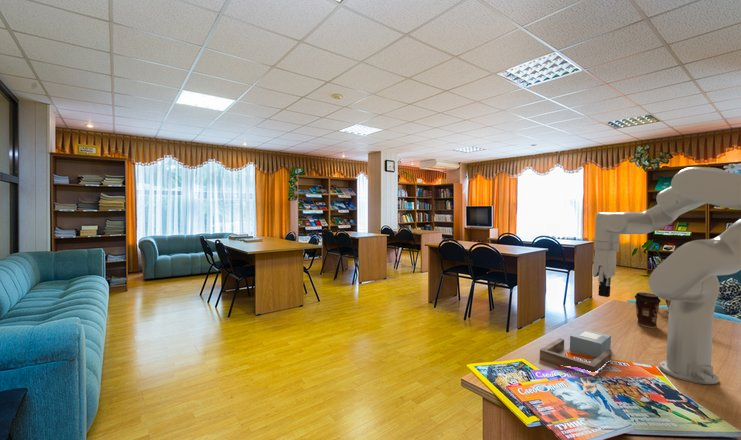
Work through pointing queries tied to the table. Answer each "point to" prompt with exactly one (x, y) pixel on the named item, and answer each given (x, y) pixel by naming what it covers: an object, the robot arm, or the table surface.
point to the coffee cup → (647, 309)
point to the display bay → (553, 357)
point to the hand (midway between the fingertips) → (604, 296)
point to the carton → (590, 342)
